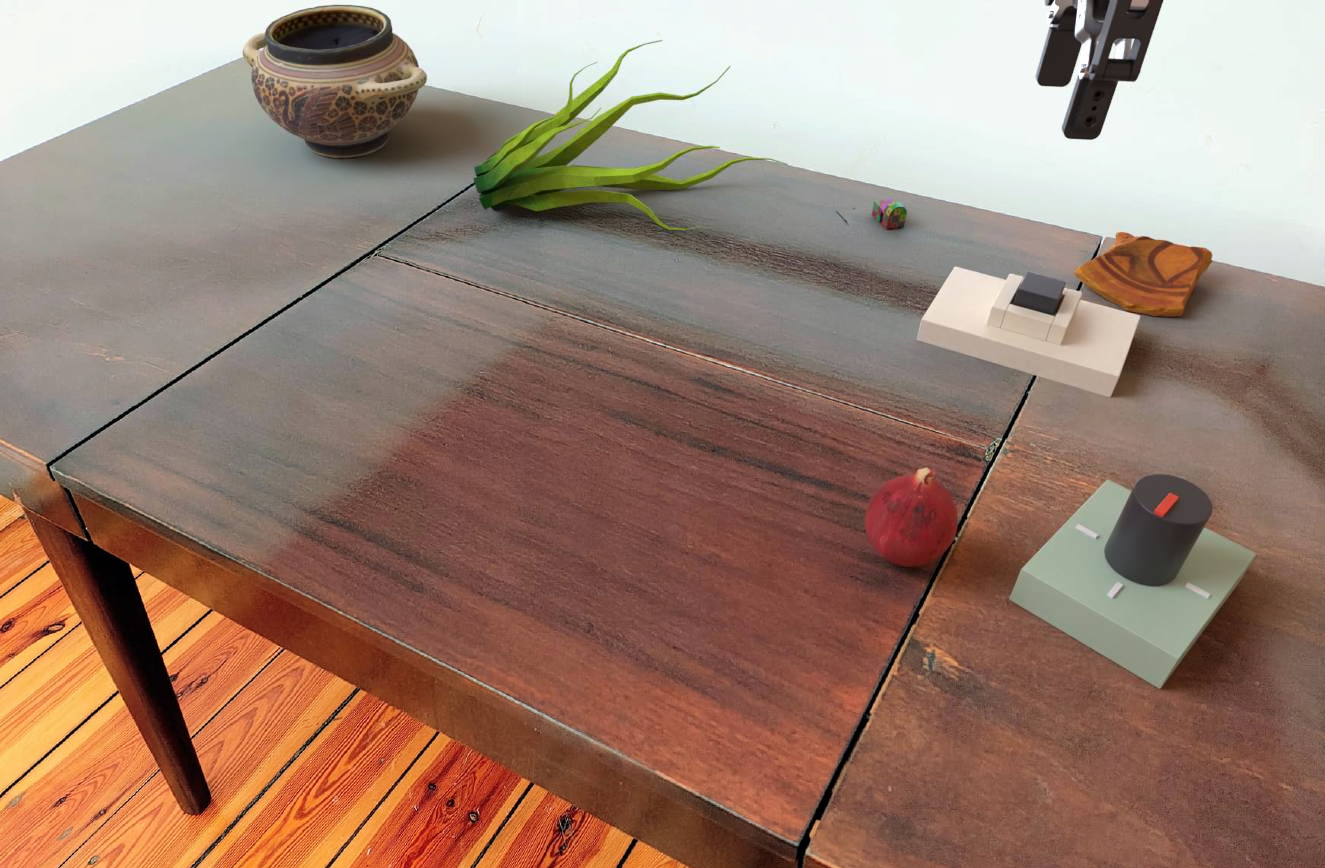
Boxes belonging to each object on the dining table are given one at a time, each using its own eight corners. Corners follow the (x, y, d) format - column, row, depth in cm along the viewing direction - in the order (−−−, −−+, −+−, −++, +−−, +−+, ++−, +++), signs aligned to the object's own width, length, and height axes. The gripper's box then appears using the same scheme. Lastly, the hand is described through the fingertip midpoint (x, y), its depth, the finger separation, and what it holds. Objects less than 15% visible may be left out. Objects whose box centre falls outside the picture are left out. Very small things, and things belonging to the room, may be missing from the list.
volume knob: (1122, 525, 68) (1154, 459, 64) (1189, 560, 66) (1227, 494, 62) (1091, 560, 66) (1122, 494, 62) (1159, 597, 63) (1197, 531, 59)
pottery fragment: (1218, 247, 94) (1202, 278, 87) (1198, 294, 97) (1181, 328, 90) (1104, 219, 99) (1080, 247, 92) (1088, 265, 101) (1063, 295, 94)
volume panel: (1093, 509, 73) (1108, 477, 71) (1237, 584, 68) (1258, 551, 66) (1008, 599, 67) (1022, 566, 65) (1159, 689, 62) (1180, 657, 60)
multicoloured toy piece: (912, 225, 103) (917, 204, 102) (886, 229, 103) (890, 207, 101) (893, 206, 106) (897, 185, 105) (867, 209, 106) (871, 188, 104)
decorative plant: (756, 265, 98) (774, 114, 88) (466, 220, 104) (452, 75, 94) (785, 180, 111) (804, 40, 101) (525, 145, 117) (518, 10, 107)
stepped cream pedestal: (949, 286, 95) (959, 248, 92) (1132, 336, 89) (1148, 297, 86) (915, 340, 89) (926, 300, 86) (1110, 398, 83) (1127, 357, 80)
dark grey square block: (1021, 289, 88) (1027, 271, 87) (1060, 299, 87) (1066, 281, 86) (1012, 306, 86) (1018, 288, 85) (1051, 317, 85) (1058, 299, 84)
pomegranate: (937, 601, 67) (967, 514, 62) (849, 578, 69) (871, 491, 63) (947, 541, 71) (976, 454, 66) (864, 520, 73) (885, 434, 67)
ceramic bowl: (238, 155, 122) (178, 38, 109) (341, 72, 129) (295, -46, 116) (385, 217, 111) (335, 95, 99) (488, 123, 118) (454, -2, 106)
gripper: (1271, -147, 51) (1153, 160, 62) (1185, -201, 62) (1097, 71, 73) (1115, -151, 52) (1025, 154, 63) (1056, -203, 63) (988, 66, 74)
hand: (1064, 109), depth 68 cm, fingers open, 8 cm apart
